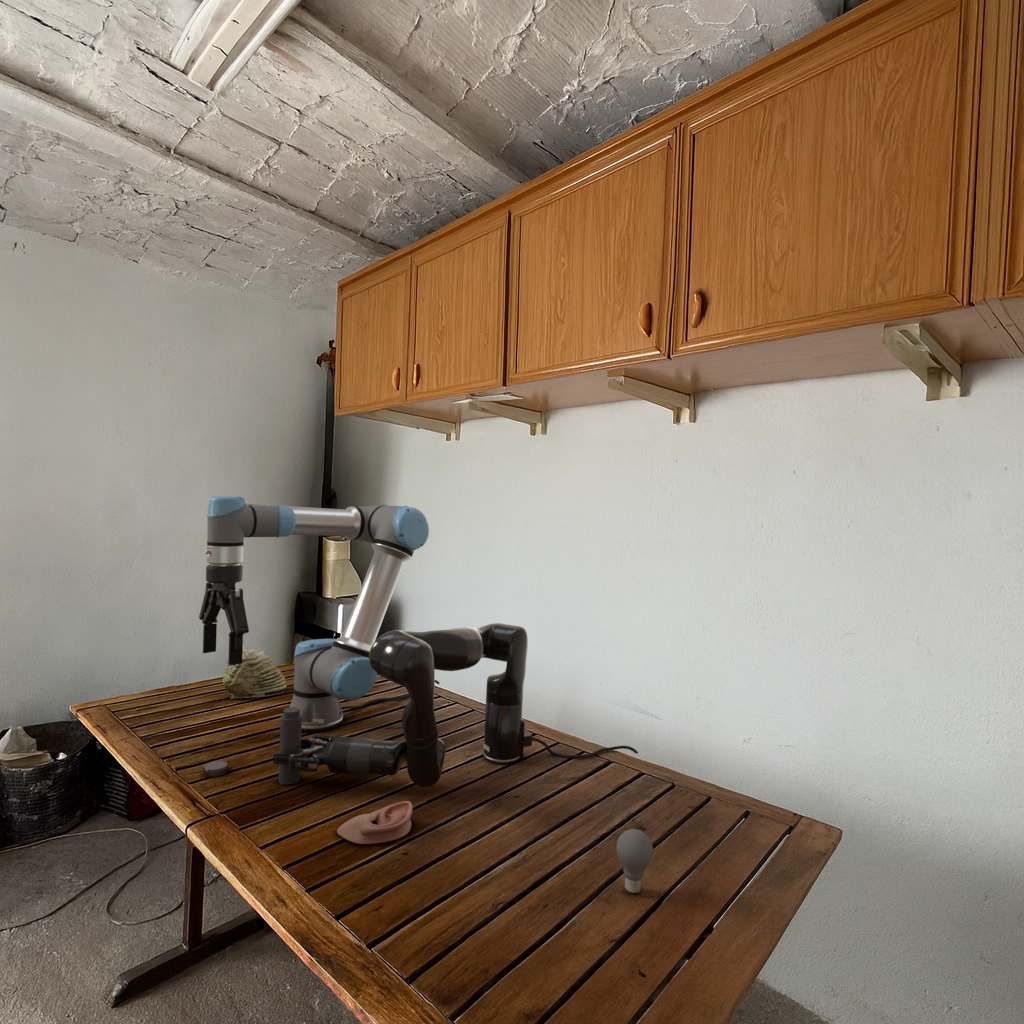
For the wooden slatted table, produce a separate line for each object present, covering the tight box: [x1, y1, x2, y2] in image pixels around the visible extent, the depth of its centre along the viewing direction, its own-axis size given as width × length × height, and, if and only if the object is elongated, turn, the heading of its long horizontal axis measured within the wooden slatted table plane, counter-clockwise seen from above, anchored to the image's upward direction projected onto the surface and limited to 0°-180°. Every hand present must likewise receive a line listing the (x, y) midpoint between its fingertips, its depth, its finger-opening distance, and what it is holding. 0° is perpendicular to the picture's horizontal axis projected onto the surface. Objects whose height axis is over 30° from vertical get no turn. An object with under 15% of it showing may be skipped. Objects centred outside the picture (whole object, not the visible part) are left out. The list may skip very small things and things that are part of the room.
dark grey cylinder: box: [278, 706, 302, 786], centre depth 141 cm, size 4×4×16 cm
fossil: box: [222, 646, 288, 699], centre depth 198 cm, size 9×18×15 cm, turn 132°
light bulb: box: [615, 828, 654, 894], centre depth 106 cm, size 6×6×10 cm
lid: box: [203, 760, 229, 778], centre depth 143 cm, size 5×5×2 cm
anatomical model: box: [336, 800, 414, 845], centre depth 121 cm, size 13×4×12 cm
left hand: (221, 658), depth 143 cm, fingers open, 13 cm apart
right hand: (282, 750), depth 141 cm, fingers open, 8 cm apart
